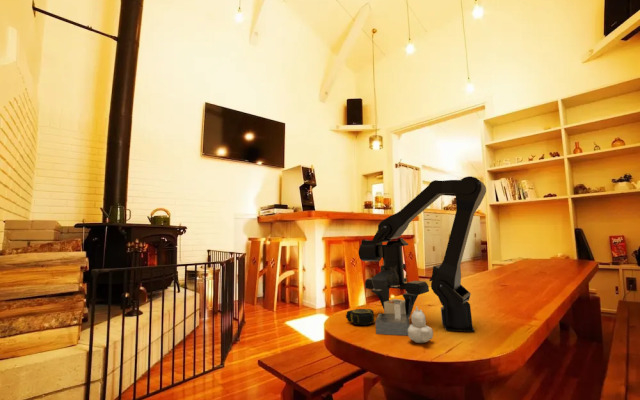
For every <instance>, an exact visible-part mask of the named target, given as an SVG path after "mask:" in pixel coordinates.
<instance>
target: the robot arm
mask: <svg viewBox="0 0 640 400" xmlns="http://www.w3.org/2000/svg"><path fill="white" fill-rule="evenodd" d="M486 193H487V186H486V185H485V183H484V182H482V180H480V179H478V177H476V176H475V177H474V176H469V175H468V176H465V177H463V178H461V179H449V180H439V179H436V180H435V179H434V180H432V181H431V182H429V184H428V185H427V186H426V187H425V188H424V189H423V190H422V191H420V193H419V194H417V195H416V196H415V197H414V198H413V199H412V200H410V201H409V202H408V203H407V204H406V205H405V206H404V207H402V208H401V210H399V211H398V212H396V213H394V214H391V215H390V216H387V217H386V218H384V219H383V220H382V221H380V222H379V223H378V225H377V231H376V233H375V235H374V236H373V238H372V240H371V239H362V240H361V244H360V245H359V248H358V249H359V250H358V251H357V252H358V258H359V259H360V260H361V262H380V261H381V260H382V263H383V264H381V265H380V271H379V272H377V273H376V274H375V275H374V276H372V277H370V278H366V280H365V282H364V289H365V290H370V291H371V292H372V293H374V294H375V295H376V296H377V297H378V299H379V301H380V303H381V306H382V309H383V310H384V302H386V301H389V300H390V289H396V290H405V292H404V293H402V294H401V295H402V298H403V300H405V310H406V314H409V317H410V318H411V315H412V313H413V312H412V311H413V309H414V305H415V304H416V301H417V298H418V296H419V295H423V294H425V293H428V292H430V290H429V289H431V290H432V292H433V294H434V295H435V296H436V297H438V300H439V301H440V304H441V305H442V306H441V307H440V314H441V315H440V316H441V317H440V318H441V324H442V326H443V327H444V329H445V331H448V332H449V331H450V332H469V333H474V332H475V330H476V329H475V328H474V326H473V320H472V319H473V318H472V310H471V309H472V308H471V303H470V302H469V301H470V298H471V295H472V293H471V292H470V291H469V290H468V289H466V288H465V286H463V285H462V284H461V283H462V270H461V269H462V268H461V263H462V261H463V260H462V259H463V257H464V252H465V249H466V245H467V241H468V238H469V233H470V230H471V228H472V227H471V226H472V223H473V220H474V215H475V214H476V212H477V210H478V209H479V207H480V205H481V204H482V202H483V199H484V198H485V195H486ZM441 196H447V197H449V196H451V197H455V205H456V206H455V207H456V211H455V215H454V219H453V223H452V227H451V230H450V234H449V238H448V242H447V245H446V248H445V253H444V257H443V261H442V262H441V263H440V264H437V265H434V266H432V274H431V277H430V279H428V280H429V282H431V283H430V286H429V284H428V283H427V282H426V281H422V280H412V281H409V282H407V281H408V280H407V278H406V277H405V273H404V272H405V271H404V269H406V268H407V267H406V264H404V263H403V261H404V260H403V249H402V247H406V246H407V247H408V246H409V242H407V241H406V240H405V239H404V238H403V237H401V236H402V235H403V234H404V233H405V231H406V230H407V229H408V227H409V225H410V223H411V222H412V221H413V220H414V219H415V218H417V217H418V216H419V215H420V214H421V213H423V212H424V211H425V210H426V209H427V208H428V207H430V206H431V204H433V203H434V202H436V201H437V200H438V199H439V198H440V197H441ZM393 239H397V240H393ZM383 243H385V244H383ZM429 287H430V288H429Z"/></svg>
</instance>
